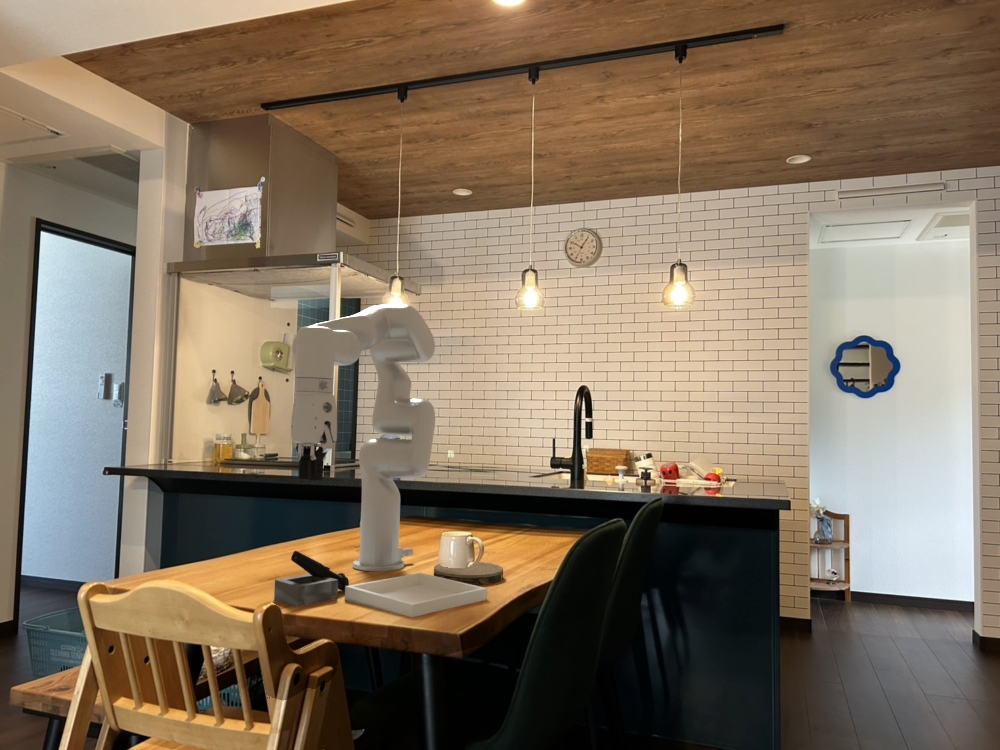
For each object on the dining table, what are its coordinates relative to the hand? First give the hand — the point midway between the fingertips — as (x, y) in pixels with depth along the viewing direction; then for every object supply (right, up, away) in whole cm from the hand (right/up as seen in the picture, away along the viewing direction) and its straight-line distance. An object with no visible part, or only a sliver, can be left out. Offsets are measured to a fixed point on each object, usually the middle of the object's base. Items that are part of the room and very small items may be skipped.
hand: (310, 478), depth 154 cm
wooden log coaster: (+31, -27, +21) cm, 46 cm away
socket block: (-1, -24, -1) cm, 24 cm away
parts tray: (+21, -25, -1) cm, 33 cm away
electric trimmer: (-4, -16, -3) cm, 17 cm away
